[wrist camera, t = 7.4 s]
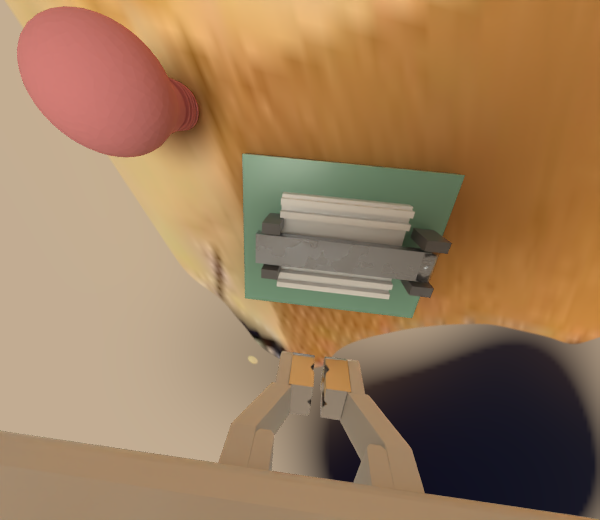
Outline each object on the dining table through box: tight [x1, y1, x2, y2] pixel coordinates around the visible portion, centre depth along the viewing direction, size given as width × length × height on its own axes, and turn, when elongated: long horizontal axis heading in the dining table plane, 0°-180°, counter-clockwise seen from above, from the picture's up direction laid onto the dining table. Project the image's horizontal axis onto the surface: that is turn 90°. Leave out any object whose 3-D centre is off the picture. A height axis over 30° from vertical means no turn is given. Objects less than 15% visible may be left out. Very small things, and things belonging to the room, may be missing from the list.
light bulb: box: [17, 6, 199, 157], centre depth 16 cm, size 7×7×12 cm
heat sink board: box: [242, 153, 465, 318], centre depth 24 cm, size 20×16×5 cm
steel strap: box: [256, 230, 439, 283], centre depth 22 cm, size 17×3×2 cm, turn 85°
